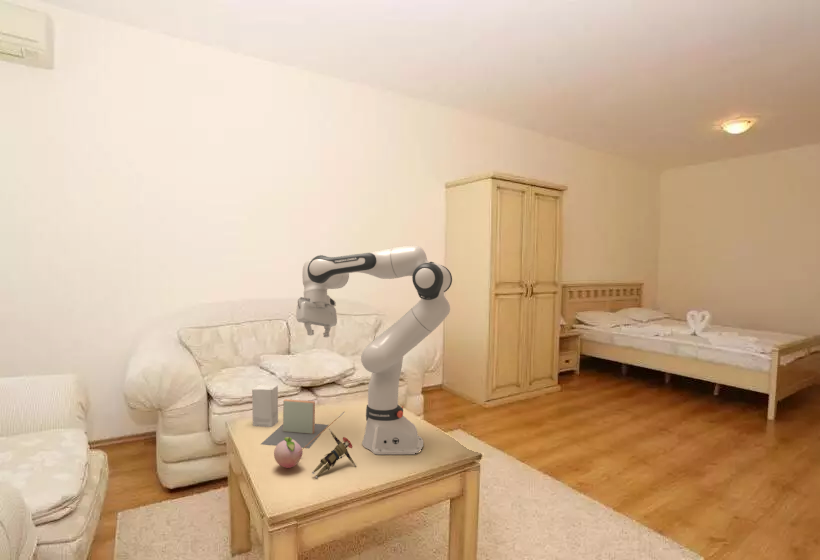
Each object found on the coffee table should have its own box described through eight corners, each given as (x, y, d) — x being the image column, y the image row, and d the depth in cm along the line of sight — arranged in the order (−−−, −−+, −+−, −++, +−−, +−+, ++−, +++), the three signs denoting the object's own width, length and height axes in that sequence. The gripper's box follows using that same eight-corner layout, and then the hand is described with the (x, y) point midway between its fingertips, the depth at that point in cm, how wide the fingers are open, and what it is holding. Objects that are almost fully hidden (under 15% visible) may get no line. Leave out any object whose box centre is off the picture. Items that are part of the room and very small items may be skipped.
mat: (328, 425, 169) (328, 424, 169) (309, 449, 148) (309, 448, 148) (285, 422, 172) (285, 421, 172) (260, 445, 150) (260, 444, 150)
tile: (314, 432, 162) (315, 401, 161) (312, 434, 160) (313, 403, 159) (284, 429, 163) (285, 399, 163) (282, 431, 161) (283, 400, 161)
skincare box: (278, 422, 171) (279, 384, 171) (271, 428, 165) (272, 389, 164) (258, 421, 172) (259, 383, 172) (251, 427, 166) (251, 388, 165)
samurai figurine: (321, 495, 133) (364, 451, 146) (333, 495, 126) (377, 448, 139) (291, 454, 134) (337, 414, 147) (301, 451, 126) (349, 409, 139)
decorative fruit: (269, 465, 135) (270, 435, 135) (294, 459, 140) (294, 429, 140) (279, 478, 128) (280, 446, 127) (305, 471, 133) (306, 439, 132)
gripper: (304, 294, 151) (307, 332, 147) (338, 302, 169) (341, 336, 165) (290, 298, 153) (293, 335, 149) (325, 306, 171) (328, 339, 167)
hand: (318, 336), depth 157 cm, fingers open, 8 cm apart
